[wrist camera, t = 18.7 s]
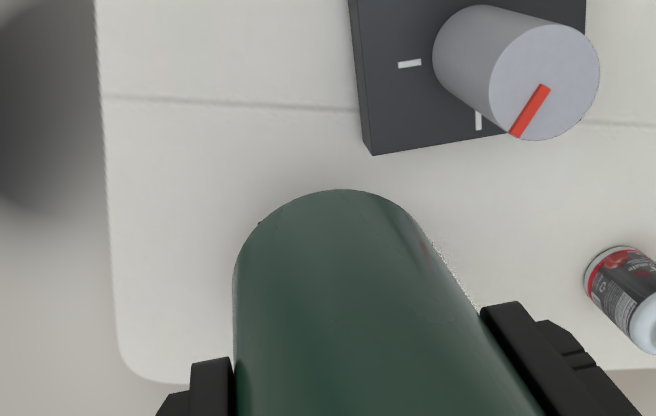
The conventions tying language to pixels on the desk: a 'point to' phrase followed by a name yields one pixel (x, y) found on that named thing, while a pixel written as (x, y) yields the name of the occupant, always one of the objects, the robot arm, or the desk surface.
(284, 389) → the tea tin
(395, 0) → the dark grey panel
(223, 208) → the desk surface
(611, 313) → the pill bottle
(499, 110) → the grey round cylinder
